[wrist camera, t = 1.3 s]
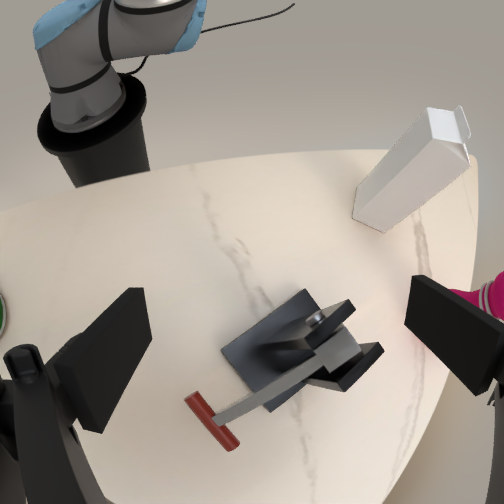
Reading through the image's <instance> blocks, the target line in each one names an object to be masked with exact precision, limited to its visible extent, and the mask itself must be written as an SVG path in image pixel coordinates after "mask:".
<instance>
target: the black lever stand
mask: <svg viewBox="0 0 504 504" xmlns="http://www.w3.org/2000/svg"><path fill="white" fill-rule="evenodd" d="M355 310H356V309H355V307H354V306H353V304H352V303H351V302H350V300H349V299H347V300H345V301H342V302H340V303H337V304H335V305H332V306H330V307H327V308H325V309H322V310H321V309H320V308H319V306H318V305H317V304H316V302H315V301H314V300H313V298H312V297H311V295H310V294H309V293H308V291H307V290H306V289H305V288H304V289H303V290H301V291H300V292H299V293H297V294H296V295H295V296H293V297H292V298H291V299H289V300H288V301H287V302H285V303H284V304H283V305H281V306H280V307H279V308H278V309H276V310H275V311H273V312H272V313H271V314H269V315H268V316H267V317H265V318H264V319H263V320H261V321H260V322H259V323H257V324H256V325H254V326H253V327H252V328H250V329H249V330H248V331H246V332H245V333H243V334H242V335H241V336H239V337H238V338H236V339H235V340H233V341H232V342H231V343H229V344H228V345H226V346H225V347H223V348H222V349H221V352H222V353H223V354H224V356H225V357H226V359H227V360H228V361H229V363H230V364H231V365H232V367H233V368H234V369H235V370H236V372H237V373H238V374H239V376H240V377H241V378H242V380H243V381H244V382H245V383H246V385H247V386H248V387H249V388H250V390H251V391H252V392H253V391H255V390H257V389H258V388H260V387H262V386H263V385H265V384H266V383H268V382H270V381H271V380H273V379H275V378H276V377H278V376H279V375H281V374H282V373H284V372H286V371H287V370H289V369H290V368H292V367H293V366H295V365H296V364H298V363H299V362H301V361H302V360H304V359H305V358H307V357H308V356H310V355H311V354H313V353H314V351H313V348H314V347H316V346H317V345H318V344H319V343H320V342H321V341H323V340H324V339H325V338H326V337H327V336H328V335H329V334H331V333H332V332H333V331H334V330H335V329H336V328H337V327H338V326H339V325H340V324H342V323H343V322H344V321H345V320H346V319H347V318H348V317H349V316H350V315H351V314H352V313H353V312H354V311H355ZM358 345H359V346H360V348H361V349H362V351H360V352H359V353H358V354H356V355H355V356H354V357H352V358H351V359H350V360H348V361H347V362H345V363H344V364H343V365H341V366H340V367H338V368H337V369H336V370H334V371H333V372H331V373H329V371H328V370H327V369H326V367H325V366H323V367H321V368H320V369H318V370H317V371H315V372H314V373H312V374H311V375H309V376H308V377H306V378H305V379H303V380H301V381H300V382H298V383H297V384H295V385H294V386H292V387H290V388H289V389H287V390H286V391H284V392H282V393H281V394H279V395H277V396H276V397H274V398H272V399H270V400H269V401H267V402H265V403H264V404H262V405H263V406H264V407H265V408H266V409H267V411H269V412H270V413H271V412H272V411H274V410H275V409H276V408H277V407H279V406H280V405H281V404H283V403H284V402H285V401H286V400H288V399H289V398H290V397H292V396H293V395H294V394H295V393H296V392H298V391H299V390H300V389H301V388H303V387H304V386H305V385H306V384H309V385H313V386H318V387H322V388H326V389H331V390H336V391H340V392H346V391H347V390H348V389H349V388H350V387H351V386H352V385H353V384H354V383H355V382H356V381H357V380H358V379H359V378H360V377H361V376H362V375H363V374H364V373H365V372H366V371H367V370H368V369H369V368H370V367H371V366H372V365H373V364H374V362H375V361H376V360H377V359H378V358H379V357H380V356H381V355H382V354H383V353H384V349H383V348H382V346H381V345H380V343H379V342H373V343H365V344H358Z"/></svg>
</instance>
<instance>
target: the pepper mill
mask: <svg viewBox="0 0 504 504" xmlns="http://www.w3.org/2000/svg"><path fill="white" fill-rule="evenodd" d="M449 290H451V291H452V292H454V293H456V294H457V295H459V296H461V297H462V298H464V299H466V300H467V301H469V302H470V303H472V304H474V305H475V306H477V307H479V308H480V309H482V310H483V311H485V312H486V313H488V314H490V315H491V316H493V317H494V318H496V319H497V320H499V319H502V320H503V321H504V271H503V272H501V273H500V274H499V275H498V276H497V277H496V279H495V281H489V282H488V283H484V284H483V285H482V287H481V289H479V290H477V291H473V292H465V291H461V290H456V289H449Z"/></svg>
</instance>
